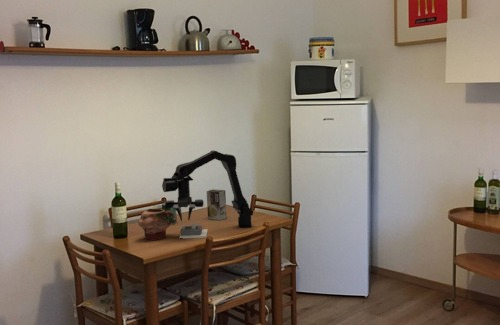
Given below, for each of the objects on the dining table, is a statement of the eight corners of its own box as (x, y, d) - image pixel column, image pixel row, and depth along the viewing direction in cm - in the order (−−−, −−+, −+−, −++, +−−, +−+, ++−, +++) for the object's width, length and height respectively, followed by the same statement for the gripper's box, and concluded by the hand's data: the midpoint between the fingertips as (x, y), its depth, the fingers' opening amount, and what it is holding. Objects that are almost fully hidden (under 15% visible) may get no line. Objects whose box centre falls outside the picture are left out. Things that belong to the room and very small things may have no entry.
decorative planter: (165, 231, 287) (164, 205, 285) (181, 234, 279) (179, 207, 277) (133, 239, 272) (132, 211, 271) (148, 243, 264) (147, 215, 262)
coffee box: (227, 218, 313) (225, 190, 311) (220, 220, 307) (219, 192, 305) (214, 216, 318) (212, 189, 316) (207, 218, 312) (206, 190, 310)
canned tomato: (178, 221, 309) (177, 201, 307) (175, 224, 301) (174, 204, 300) (164, 221, 310) (163, 202, 308) (160, 224, 302) (159, 205, 300)
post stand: (207, 231, 284) (207, 220, 284) (206, 237, 271) (205, 226, 271) (182, 232, 284) (182, 221, 283) (179, 238, 271) (179, 227, 270)
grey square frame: (202, 229, 283) (202, 225, 282) (200, 235, 273) (200, 230, 272) (182, 230, 283) (182, 225, 282) (180, 235, 273) (180, 230, 272)
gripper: (162, 193, 267) (164, 225, 269) (201, 192, 267) (202, 223, 269) (165, 189, 278) (167, 219, 280) (202, 188, 278) (204, 218, 280)
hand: (185, 220), depth 277 cm, fingers open, 3 cm apart
